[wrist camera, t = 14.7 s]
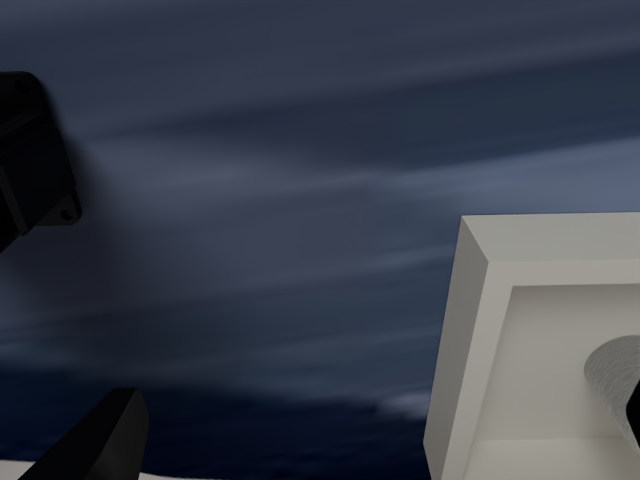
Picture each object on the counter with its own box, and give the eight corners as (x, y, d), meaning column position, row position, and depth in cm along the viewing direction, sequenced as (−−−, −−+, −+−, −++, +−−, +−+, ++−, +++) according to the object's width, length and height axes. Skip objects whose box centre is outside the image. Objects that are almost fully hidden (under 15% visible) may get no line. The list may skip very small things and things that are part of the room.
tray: (423, 442, 30) (436, 500, 27) (461, 215, 21) (488, 262, 18) (679, 436, 30) (723, 493, 27) (825, 208, 21) (917, 253, 18)
